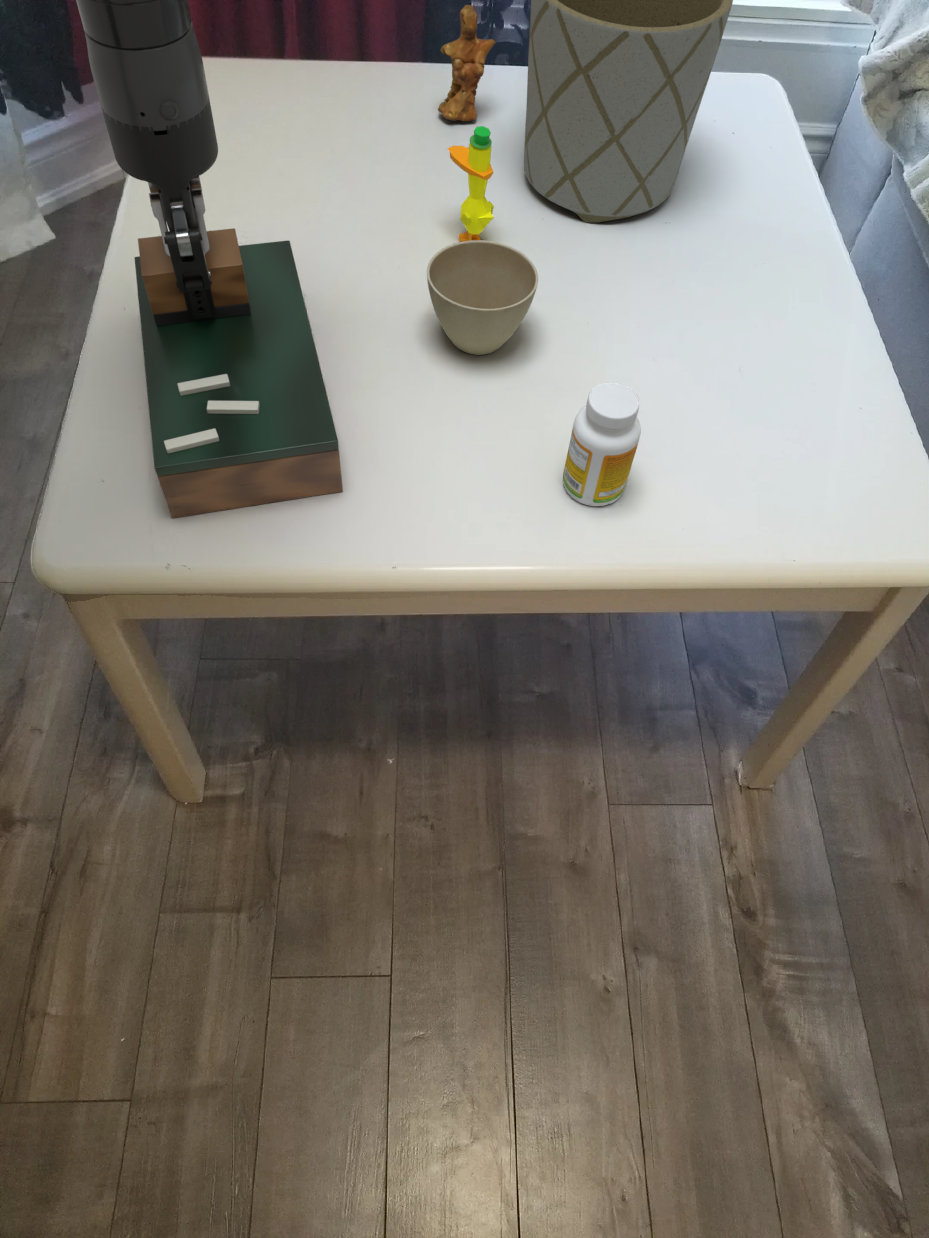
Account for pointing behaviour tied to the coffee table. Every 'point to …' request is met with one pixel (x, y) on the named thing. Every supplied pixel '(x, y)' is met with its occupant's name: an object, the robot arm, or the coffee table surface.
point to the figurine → (465, 68)
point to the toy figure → (475, 182)
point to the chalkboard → (242, 396)
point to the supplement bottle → (602, 445)
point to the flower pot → (480, 293)
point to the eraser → (224, 277)
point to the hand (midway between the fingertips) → (199, 295)
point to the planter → (615, 98)
